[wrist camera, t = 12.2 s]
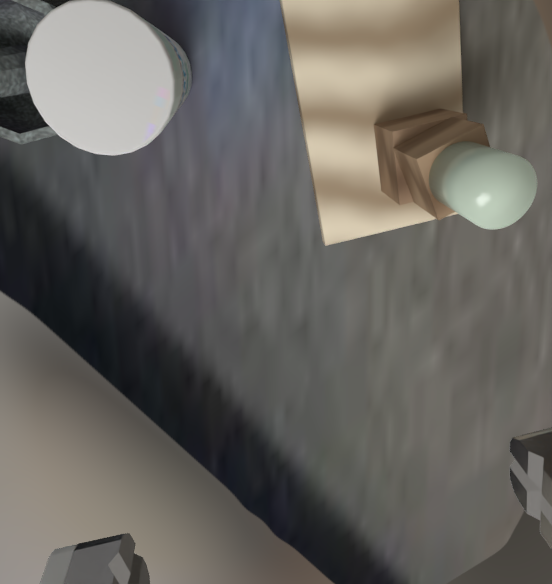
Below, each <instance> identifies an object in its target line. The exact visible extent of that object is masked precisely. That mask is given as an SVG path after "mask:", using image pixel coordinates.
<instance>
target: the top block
mask: <svg viewBox="0 0 552 584" xmlns="http://www.w3.org/2000/svg"><path fill="white" fill-rule="evenodd" d="M462 141H470V142H474V143H478V144H481V145H484V146H487V147H490V145H489V142H488V138H487V135H486V132H485V128H484V125H483V124H480V123H476V122H472V121H467V120H463V119H459V118H454V117H450V118H448V119H447V120H445V121H443V122H441V123H439V124H437V125H435V126H433V127H432V128H430V129H428V130H426V131H424V132H422V133H420V134H418V135H417V136H415V137H413V138H411V139H409V140H407V141H405V142H403V143H402V144H400V145H398V146H396V147H394V148H393V149H394V152H395V155H396V157H397V160H398V162H399V165H400V168H401V170H402V173H403V175H404V178H405V181H406V183H407V186H408V188H409V191H410V194H411V196H412V199H413V202H414V203H415V204H417V205H418V206H419V207H421V208H422V209H424V210H425V211H426V212H428V213H429V214H431V215H432V216H434V217H435V218H436V219H438V220H440V219H442V218H444V217H446V216H448V215H450V214H452V213H454V212H455V211H453V210H452V209H450V208H449V207H447V206H445V205H444V204H442V203H440V202H439V201H438V200H437V199H436V198H435V197H434V196H433V194H432V193H431V190H430V187H429V173H430V169H431V166H432V164H433V162H434V160H435V159H436V157H437V156H438V155H439V154H440V153H441V152H442V151H443V150H444V149H445V148H446V147H448V146H450V145H452V144H454V143H457V142H462Z"/></svg>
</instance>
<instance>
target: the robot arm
mask: <svg viewBox="0 0 552 584" xmlns="http://www.w3.org/2000/svg"><path fill="white" fill-rule="evenodd" d="M510 453H511V454H512V455H513V457H514V458H515V460H514V462H513V463H512V464H511V466H510V480H511V484H512V487H513V490H514V493H515V495H516V497H517V499H518V501H519V502H520V504H521V505H522V507H523V508H524V510H525V511H526V513H527V514H529V515H531V516H533V517H535V518H537V519H538V520H540V533H541V535H542V536H543V537H544V539H545V540H546V542H547V543H548V545H549V546H550V548H551V549H552V427H551V428H547V429H543V430H540V431H536V432H532V433H528V434H524V435H520V436H516V437H513V438H512V439H511V441H510ZM134 549H135V542H134V540H133V539H132V537H131V535H130V534H128V533H127V534H121V535H116V536H112V537H107V538H103V539H98V540H93V541H89V542H84V543H80V544H77V545H72V546H67V547H63V548H59V549H55V550H54V551H53V552H52V554H51V555H50V556H49V558H48V561H47V564H46V567H45V570H44V573H43V575H42V578H41V581H40V584H150V580H149V579H150V578H149V573H148V569H147V565H146V563H145V561H144V559H143V557H141V556H139V555H137V554H135V553H134Z"/></svg>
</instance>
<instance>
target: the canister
mask: <svg viewBox="0 0 552 584" xmlns="http://www.w3.org/2000/svg"><path fill="white" fill-rule="evenodd" d="M429 187H430V190H431V193H432V194H433V196H434V197H435V198H436V199H437V200H438V201H439V202H440V203H442V204H444V205H445V206H447V207H449V208H450V209H452V210H453V211H455V212H457V213H458V214H460V215H461V216H463V217H465V218H466V219H468V220H469V221H471V222H473V223H474V224H476V225H477V226H479V227H482V228H485V229H500V228H504V227H506V226H509V225H511V224H513V223H514V222H516V221H517V220H519V219H520V218H521V217H522V216H523V215H524V214H525V213H526V212H527V210H528V209H529V207H530V206H531V204H532V202H533V200H534V197H535V195H536V190H537V177H536V173H535V170H534V168H533V167H532V165H531V164H530V163H529V162H528V161H527V160H525V159H524V158H522V157H520V156H517V155H513V154H510V153H507V152H504V151H500V150H497V149H494V148H491V147H487V146H484V145H481V144H478V143H474V142H470V141H462V142H457V143H454V144H452V145H450V146H448V147H446V148H445V149H444V150H443V151H442V152H441V153H440V154H439V155H438V156H437V157H436V159H435V160H434V162H433V164H432V166H431V169H430V173H429Z"/></svg>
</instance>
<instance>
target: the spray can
mask: <svg viewBox="0 0 552 584" xmlns="http://www.w3.org/2000/svg"><path fill="white" fill-rule="evenodd" d="M25 68H26V79H27V85H28V88H29V91H30V94H31V97H32V100H33V102H34V105H35V106H36V108H37V109H38V111H39V113H40V114H41V116H42V117H43V119H44V121H45V122H46V123H47V124H48V125H49V126H50V127H51V128H52V129H53V130H54V131H55V132H56V133H57V134H58V135H59V136H60V137H61V138H63V139H65V140H66V141H68V142H69V143H71V144H72V145H74V146H76V147H77V148H80V149H83V150H86V151H89V152H91V153H94V154H103V155H120V154H126V153H131V152H134V151H136V150H138V149H140V148H142V147H144V146H146V145H148V144H149V143H150V142H151V141H152V140H153V139H154V138H156V137H157V136H158V135H159V134H160V133H161V132H162V130H163V129H164V128H165V126H166V125H167V124H168V122H169V121H170V120H171V118H172V117H173V116H174V114H175V113H176V112H177V110H178V109H179V108H180V106H181V105H182V104H183V102H184V101H185V99H186V98H187V96H188V94H189V91H190V88H191V84H192V72H191V67H190V62H189V60H188V58H187V56H186V54H185V52H184V51H183V49H182V48H181V47H180V46H179V44H178V43H177V42H175V41H174V40H173V39H172V38H170V37H169V36H167V35H166V34H165V33H163V32H162V31H160V30H159V29H157V28H156V27H155V26H153V25H152V24H150V23H149V22H147V21H146V20H145V19H143V18H142V17H140V16H139V15H137V14H136V13H135V12H133V11H132V10H130V9H128V8H126V7H123V6H121V5H119V4H116V3H114V2H112V1H108V0H73V1H68V2H66V3H64V4H62V5H60V6H58V7H56V8H54V9H52V10H51V11H50V12H49V13H48V14H47V15H46V16H45V17H44V18H43V19H42V20H41V21H40V22H39V23H38V24H37V26H36V28H35V30H34V32H33V34H32V36H31V38H30V40H29V42H28V48H27V54H26V59H25Z"/></svg>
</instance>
